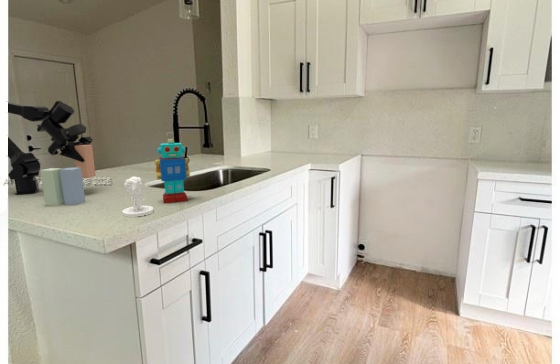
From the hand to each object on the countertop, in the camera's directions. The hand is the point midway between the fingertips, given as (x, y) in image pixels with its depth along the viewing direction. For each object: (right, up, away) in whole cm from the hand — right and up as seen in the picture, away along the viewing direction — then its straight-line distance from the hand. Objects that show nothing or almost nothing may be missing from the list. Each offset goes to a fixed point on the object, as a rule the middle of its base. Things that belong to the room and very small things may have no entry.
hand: (87, 160), depth 127 cm
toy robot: (+37, -15, -7) cm, 40 cm away
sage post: (-4, -16, -11) cm, 20 cm away
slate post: (+2, -16, -10) cm, 19 cm away
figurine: (+29, -19, -22) cm, 41 cm away
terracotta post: (-1, -6, +2) cm, 7 cm away
